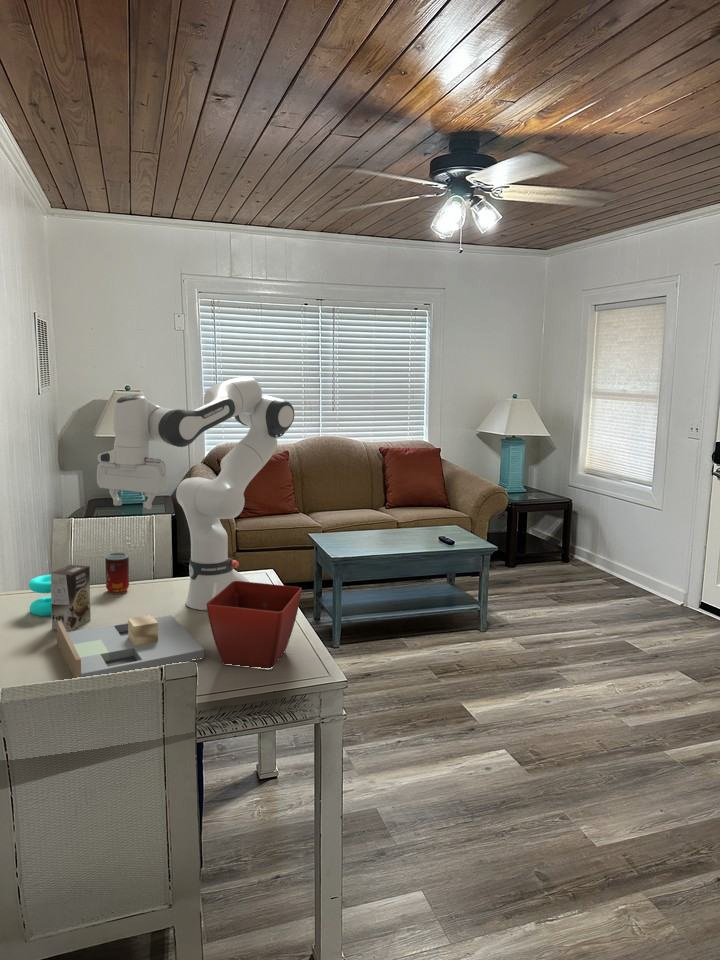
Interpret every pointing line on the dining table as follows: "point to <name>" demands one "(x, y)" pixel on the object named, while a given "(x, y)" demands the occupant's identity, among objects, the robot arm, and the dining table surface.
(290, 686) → the dining table surface
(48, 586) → the cyan spool
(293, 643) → the dining table surface
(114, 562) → the soda can
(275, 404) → the robot arm
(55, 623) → the coffee box
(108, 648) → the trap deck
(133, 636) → the oak block
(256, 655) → the plant pot
